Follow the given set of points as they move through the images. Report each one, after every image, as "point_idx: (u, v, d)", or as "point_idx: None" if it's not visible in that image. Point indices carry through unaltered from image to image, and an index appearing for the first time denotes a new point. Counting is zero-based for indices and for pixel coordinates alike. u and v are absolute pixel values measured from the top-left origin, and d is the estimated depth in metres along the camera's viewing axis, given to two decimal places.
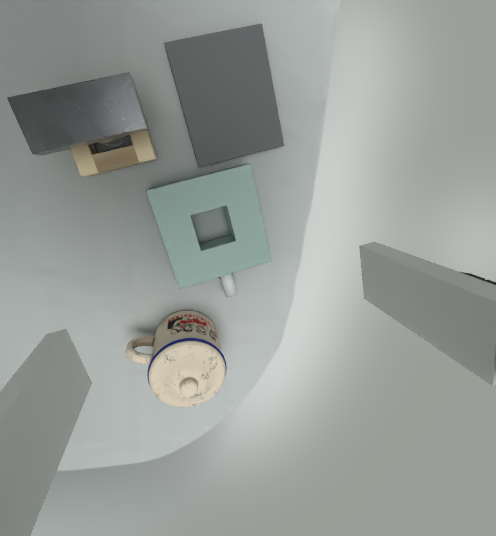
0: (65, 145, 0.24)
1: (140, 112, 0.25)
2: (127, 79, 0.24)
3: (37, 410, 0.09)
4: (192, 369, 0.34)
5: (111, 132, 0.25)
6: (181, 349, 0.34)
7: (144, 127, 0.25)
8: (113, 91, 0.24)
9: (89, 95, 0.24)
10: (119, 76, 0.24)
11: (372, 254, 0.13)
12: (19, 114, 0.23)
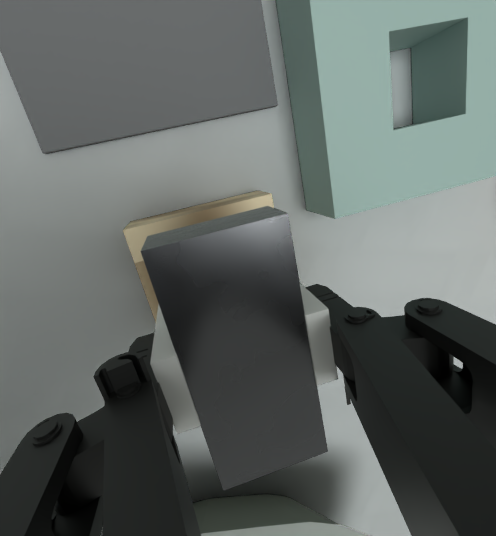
0: (316, 398, 0.11)
1: (248, 227, 0.08)
2: (160, 257, 0.08)
3: None
4: None
5: (295, 305, 0.09)
6: None
7: (286, 219, 0.09)
8: (196, 296, 0.09)
9: (210, 350, 0.09)
10: (155, 278, 0.08)
11: None
12: (254, 472, 0.11)
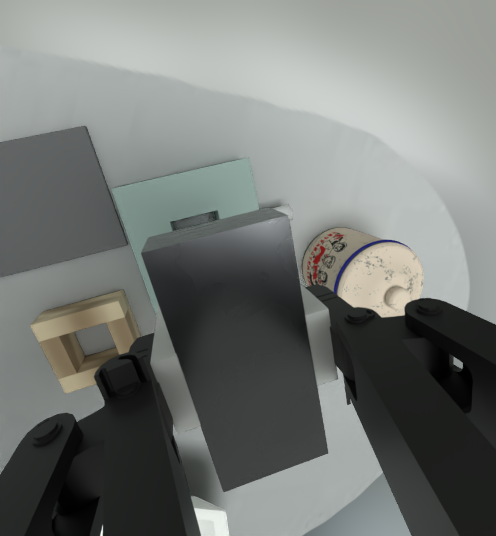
0: (316, 399, 0.11)
1: (248, 229, 0.08)
2: (160, 258, 0.08)
3: None
4: (375, 291, 0.27)
5: (296, 307, 0.09)
6: (346, 298, 0.27)
7: (286, 221, 0.08)
8: (196, 298, 0.09)
9: (210, 352, 0.09)
10: (155, 280, 0.08)
11: None
12: (254, 473, 0.11)
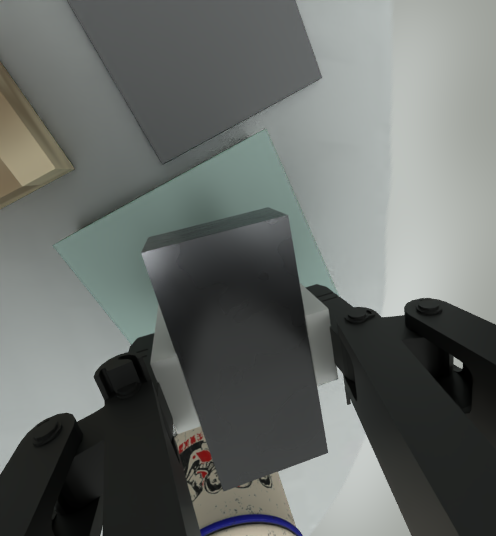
0: (316, 399, 0.11)
1: (248, 229, 0.08)
2: (160, 258, 0.08)
3: None
4: None
5: (296, 306, 0.09)
6: None
7: (286, 221, 0.09)
8: (197, 297, 0.09)
9: (210, 352, 0.09)
10: (155, 280, 0.08)
11: None
12: (254, 473, 0.11)
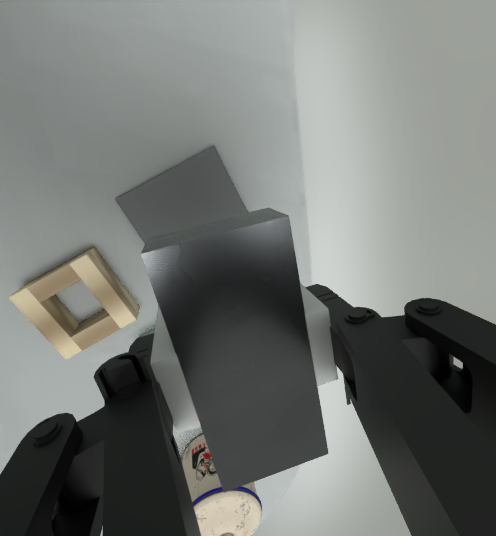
0: (317, 400, 0.11)
1: (248, 230, 0.08)
2: (161, 259, 0.08)
3: None
4: (225, 525, 0.32)
5: (296, 307, 0.09)
6: (210, 506, 0.33)
7: (286, 221, 0.08)
8: (197, 299, 0.09)
9: (210, 353, 0.09)
10: (155, 281, 0.08)
11: None
12: (254, 474, 0.11)
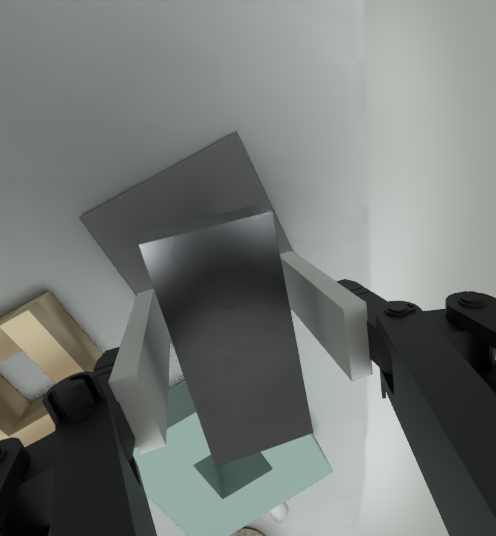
0: (301, 382, 0.11)
1: (235, 224, 0.09)
2: (156, 250, 0.09)
3: (153, 344, 0.11)
4: None
5: (280, 295, 0.10)
6: None
7: (270, 216, 0.09)
8: (189, 286, 0.09)
9: (202, 336, 0.10)
10: (152, 270, 0.09)
11: (284, 263, 0.14)
12: (244, 451, 0.12)
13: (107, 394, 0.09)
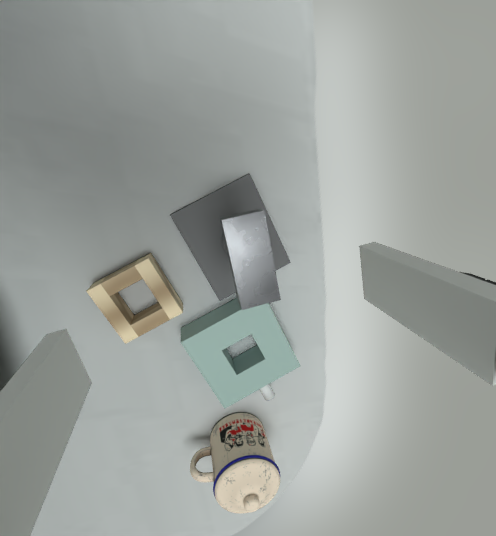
0: (275, 276, 0.30)
1: (252, 214, 0.28)
2: (227, 222, 0.28)
3: (37, 410, 0.09)
4: (251, 486, 0.39)
5: (267, 240, 0.29)
6: (238, 470, 0.39)
7: (263, 212, 0.28)
8: (236, 234, 0.28)
9: (239, 253, 0.29)
10: (224, 228, 0.28)
11: (371, 254, 0.13)
12: (253, 304, 0.30)
13: None
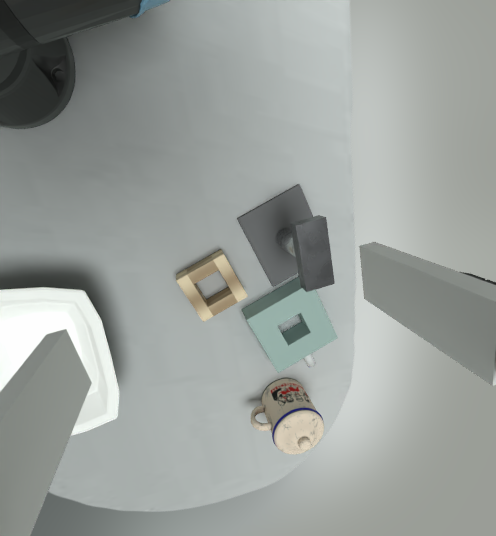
0: (331, 266, 0.40)
1: (317, 220, 0.38)
2: (299, 226, 0.37)
3: (37, 410, 0.09)
4: (303, 431, 0.50)
5: (327, 239, 0.39)
6: (293, 419, 0.50)
7: (325, 218, 0.38)
8: (305, 236, 0.38)
9: (307, 249, 0.39)
10: (297, 231, 0.38)
11: (372, 254, 0.13)
12: (314, 287, 0.40)
13: None
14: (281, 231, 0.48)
